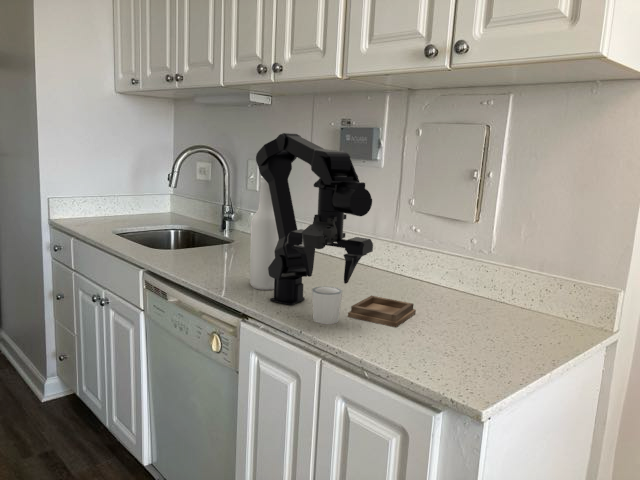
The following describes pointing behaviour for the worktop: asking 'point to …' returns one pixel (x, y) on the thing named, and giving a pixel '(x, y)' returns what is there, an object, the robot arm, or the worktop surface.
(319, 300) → the white cup
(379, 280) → the worktop surface
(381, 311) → the walnut holder
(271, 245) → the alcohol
